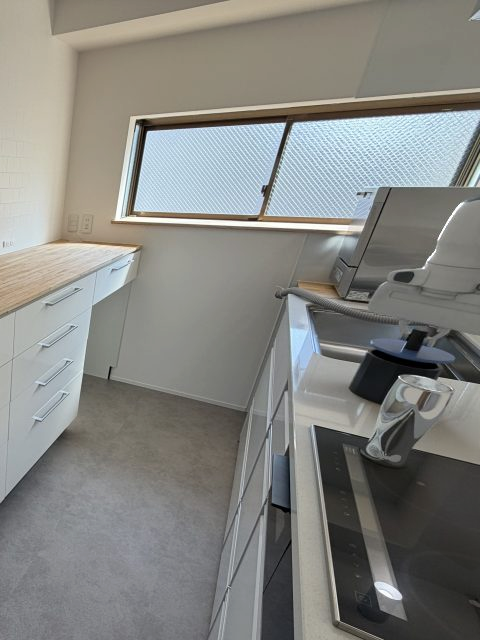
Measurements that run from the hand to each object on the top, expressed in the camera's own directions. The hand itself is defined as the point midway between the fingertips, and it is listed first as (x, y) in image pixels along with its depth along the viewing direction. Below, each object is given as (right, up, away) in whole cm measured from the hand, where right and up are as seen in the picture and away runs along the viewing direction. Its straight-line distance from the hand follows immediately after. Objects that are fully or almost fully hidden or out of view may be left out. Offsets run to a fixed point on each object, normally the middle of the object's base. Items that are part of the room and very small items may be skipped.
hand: (414, 342), depth 90 cm
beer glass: (-24, -22, -17) cm, 37 cm away
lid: (0, -2, +1) cm, 2 cm away
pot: (-1, -12, +6) cm, 13 cm away
